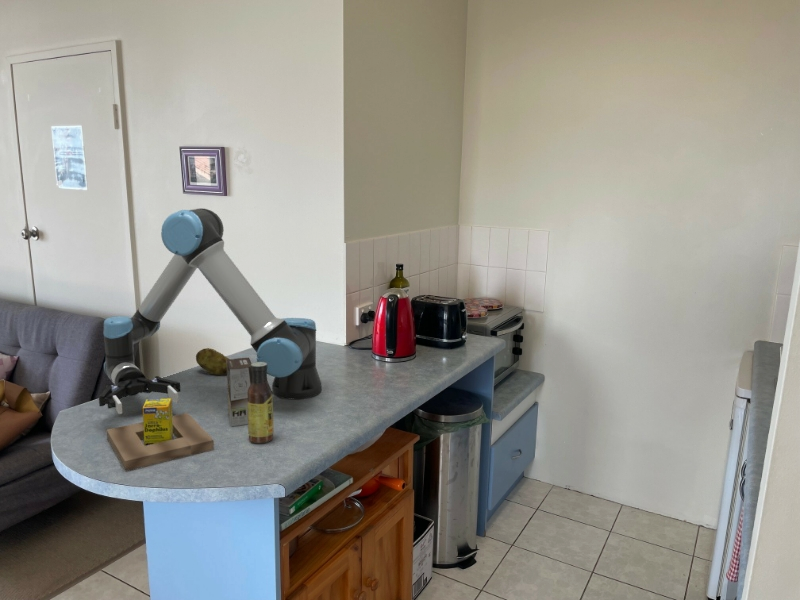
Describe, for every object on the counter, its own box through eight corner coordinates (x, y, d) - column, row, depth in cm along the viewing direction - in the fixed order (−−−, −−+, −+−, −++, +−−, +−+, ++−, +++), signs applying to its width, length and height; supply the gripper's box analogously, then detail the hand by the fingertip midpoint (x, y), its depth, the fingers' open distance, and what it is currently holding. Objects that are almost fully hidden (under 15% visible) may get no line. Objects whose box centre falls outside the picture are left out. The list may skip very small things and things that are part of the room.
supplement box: (144, 450, 144) (141, 407, 141) (148, 440, 149) (145, 398, 147) (170, 448, 145) (168, 406, 143) (173, 438, 151) (171, 397, 149)
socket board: (188, 421, 161) (187, 412, 160) (213, 449, 145) (213, 440, 145) (107, 438, 149) (106, 429, 149) (125, 471, 134) (125, 461, 133)
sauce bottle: (274, 443, 150) (273, 367, 145) (248, 445, 148) (247, 369, 144) (272, 432, 156) (271, 359, 152) (247, 434, 154) (245, 361, 150)
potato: (218, 380, 193) (217, 356, 192) (192, 372, 200) (191, 349, 198) (238, 373, 200) (237, 350, 199) (212, 366, 207) (211, 344, 205)
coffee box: (255, 423, 161) (254, 366, 158) (231, 426, 158) (229, 369, 155) (250, 411, 169) (249, 357, 166) (227, 413, 167) (225, 358, 164)
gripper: (174, 383, 176) (198, 407, 160) (80, 400, 162) (96, 428, 145) (173, 359, 175) (197, 380, 158) (78, 374, 160) (93, 398, 143)
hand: (149, 403), depth 152 cm, fingers open, 13 cm apart
